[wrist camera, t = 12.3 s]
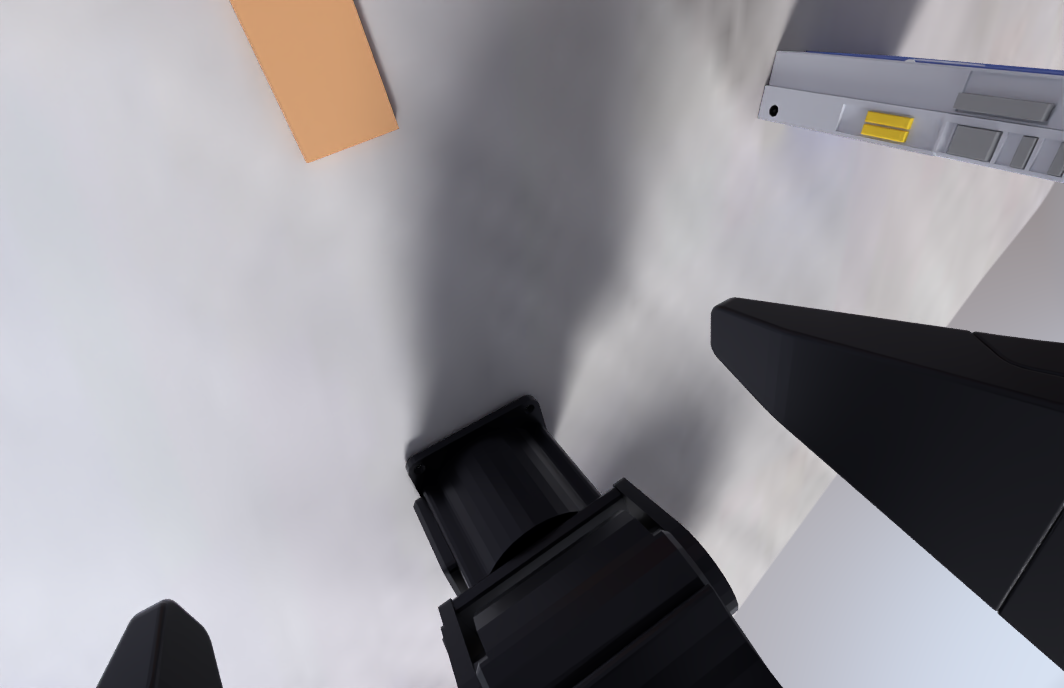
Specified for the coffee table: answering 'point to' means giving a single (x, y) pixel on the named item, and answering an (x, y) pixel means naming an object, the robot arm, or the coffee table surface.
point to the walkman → (926, 107)
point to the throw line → (318, 71)
